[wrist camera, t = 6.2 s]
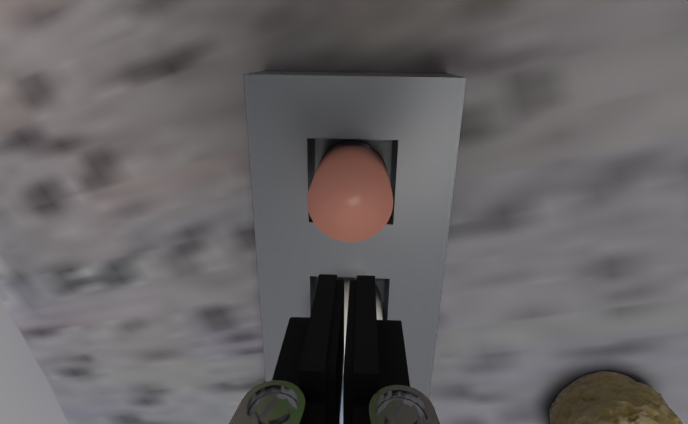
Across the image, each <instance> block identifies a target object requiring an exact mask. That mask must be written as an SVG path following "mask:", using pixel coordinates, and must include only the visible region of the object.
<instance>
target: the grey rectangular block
mask: <svg viewBox="0 0 688 424" xmlns="http://www.w3.org/2000/svg"><path fill="white" fill-rule="evenodd" d="M243 76H244V90H245V103H246V117H247V131H248V145H249V158H250V172H251V186H252V199H253V213H254V227H255V241H256V254H257V268H258V282H259V296H260V309H261V323H262V337H263V350H264V364H265V378H266V382H267V381H272V378H273V375H274V371H275V368H276V364H277V361H278V357H279V354H280V350H281V347H282V343H283V340H284V336H285V333H286V329H287V326H288V322H289V319H290V318H291V317H309V318H310V315H311V310H312V306H313V301H314V296H315V291H316V286H317V282H318V277H319V274H332V275H337V277H351V278H357V275H369V276H375V284H376V285H377V286H378V288H379V291H380V295H381V305H382V318H383V320H401V322H402V329H403V336H404V344H405V351H406V359H407V366H408V374H409V382H410V387H412V388H415V389H417V390H418V391H420V392H422V393H423V394H424V395H425V396H426V397H427V398H428V399H429V396H430V387H431V379H432V370H433V361H434V353H435V344H436V336H437V327H438V318H439V310H440V301H441V293H442V284H443V275H444V267H445V258H446V249H447V241H448V232H449V224H450V215H451V206H452V198H453V189H454V181H455V172H456V163H457V155H458V146H459V137H460V129H461V120H462V112H463V103H464V94H465V86H466V78H465V77H460V76H456V75H451V74H430V73H364V72H299V71H261V72H255V73H249V74H243ZM346 141H359V142H363V143H366V144H368V145H370V146H372V147H373V148H374V149H376V150H377V151H378V152H379V153H380V155H381V156H382V158H383V159H384V161H385V164H386V167H387V171H388V176H389V180H390V185H391V189H392V194H393V210H392V213H391V216H390V218H389V220H388V222H387V224H386V225H385V226H384V228H383V229H382V230H381V231H379V232H378V233H377V234H376V235H374V236H372V237H370V238H368V239H366V240H362V241H357V242H344V241H339V240H336V239H333V238H331V237H329V236H327V235H326V234H324V233H323V232H322V231H321V230H319V228H318V227H317V226H316V225H315V224H314V222H313V221H312V219H311V217H310V214H309V211H308V205H307V196H308V191H309V188H310V185H311V183H312V180H313V178H314V175H315V173H316V170H317V168H318V165H319V163H320V160H321V158H322V157H323V155H324V154H325V153H326V152H327V151H328V150H329V149H330V148H331V147H333V146H335V145H337V144H339V143H342V142H346ZM342 385H343V381H342Z"/></svg>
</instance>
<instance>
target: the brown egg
mask: <svg viewBox="0 0 688 424" xmlns="http://www.w3.org/2000/svg"><path fill="white" fill-rule="evenodd" d="M307 205H308V211H309V214H310V217H311V219H312V221H313V222H314V224H315V225H316V226H317V227H318V228H319V230H321V231H322V232H323V233H324V234H326V235H327V236H329V237H331V238H333V239H336V240H339V241H344V242H357V241H362V240H366V239H368V238H370V237H372V236H374V235H376V234H377V233H378V232H379V231H381V230H382V229H383V228H384V226H385V225H386V224H387V222H388V220H389V218H390V216H391V213H392V210H393V194H392V189H391V185H390V180H389V176H388V171H387V167H386V164H385V161H384V159H383V158H382V156H381V155H380V153H379V152H378V151H377V150H376V149H374V148H373V147H372V146H370V145H368V144H366V143H363V142H359V141H346V142H342V143H339V144H337V145H335V146H333V147H331V148H330V149H329V150H328V151H327V152H326V153H325V154H324V155H323V157H322V158H321V160H320V163H319V165H318V168H317V170H316V173H315V175H314V178H313V180H312V183H311V185H310V188H309V191H308V196H307Z"/></svg>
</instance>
